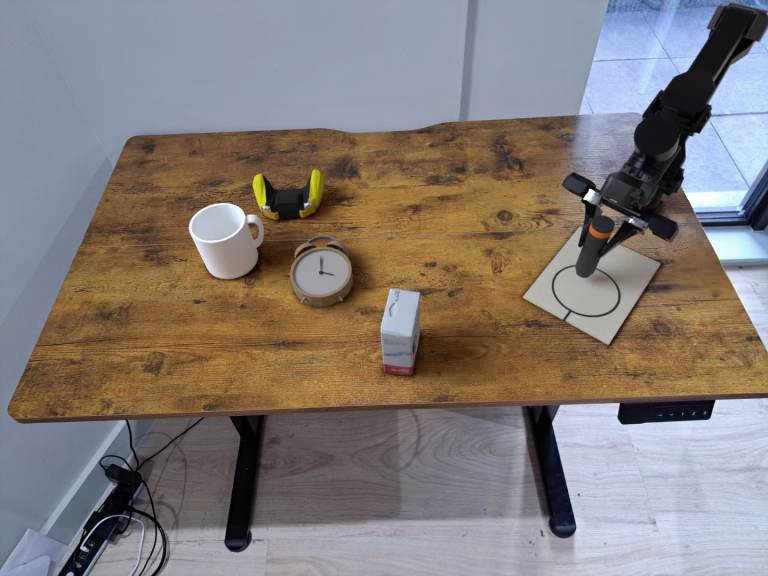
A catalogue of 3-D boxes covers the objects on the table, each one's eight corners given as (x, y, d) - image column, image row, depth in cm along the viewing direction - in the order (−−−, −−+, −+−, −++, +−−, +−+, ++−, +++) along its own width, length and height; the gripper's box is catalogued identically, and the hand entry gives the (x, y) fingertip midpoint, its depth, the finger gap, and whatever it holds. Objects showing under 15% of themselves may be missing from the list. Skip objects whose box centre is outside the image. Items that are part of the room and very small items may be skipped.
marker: (569, 267, 91) (587, 218, 81) (587, 262, 92) (607, 212, 82) (579, 282, 89) (599, 233, 79) (597, 277, 90) (619, 227, 80)
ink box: (412, 377, 82) (412, 337, 73) (382, 372, 83) (379, 332, 73) (420, 333, 87) (421, 290, 78) (392, 328, 88) (390, 286, 78)
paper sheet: (579, 227, 101) (580, 225, 100) (660, 264, 94) (661, 263, 94) (521, 299, 91) (522, 297, 90) (607, 346, 84) (608, 345, 83)
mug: (207, 284, 95) (188, 247, 87) (206, 247, 102) (188, 209, 93) (274, 270, 97) (261, 233, 89) (268, 234, 103) (256, 195, 95)
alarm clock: (288, 301, 89) (289, 229, 96) (293, 313, 93) (294, 244, 100) (352, 296, 89) (349, 225, 96) (355, 308, 93) (351, 239, 100)
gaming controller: (258, 191, 111) (254, 223, 105) (251, 171, 107) (247, 203, 101) (326, 186, 111) (326, 218, 105) (323, 165, 107) (322, 197, 101)
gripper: (583, 129, 78) (527, 219, 82) (704, 183, 69) (636, 280, 74) (595, 148, 87) (545, 227, 92) (703, 197, 79) (643, 282, 83)
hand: (588, 252), depth 85 cm, fingers closed on marker, 3 cm apart
